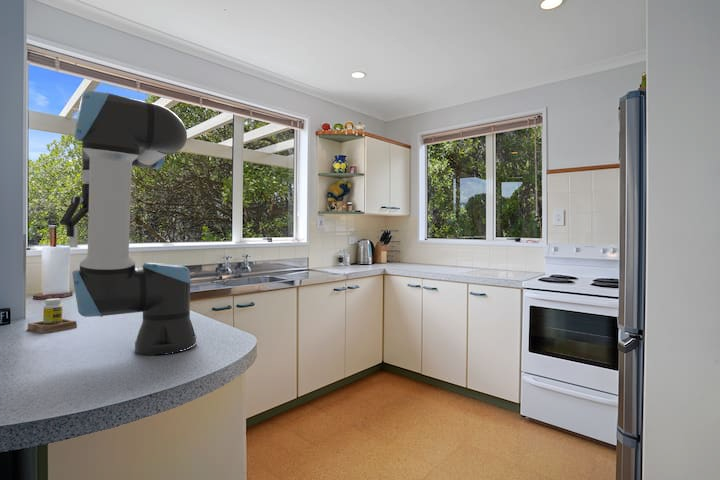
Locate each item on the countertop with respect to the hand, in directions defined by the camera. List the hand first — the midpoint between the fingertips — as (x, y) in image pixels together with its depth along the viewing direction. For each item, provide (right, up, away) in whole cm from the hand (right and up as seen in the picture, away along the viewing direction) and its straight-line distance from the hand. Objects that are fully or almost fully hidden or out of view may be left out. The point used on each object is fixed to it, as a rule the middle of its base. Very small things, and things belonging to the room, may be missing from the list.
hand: (95, 247), depth 128 cm
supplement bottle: (-10, -26, -5) cm, 28 cm away
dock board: (-10, -26, -5) cm, 29 cm away
